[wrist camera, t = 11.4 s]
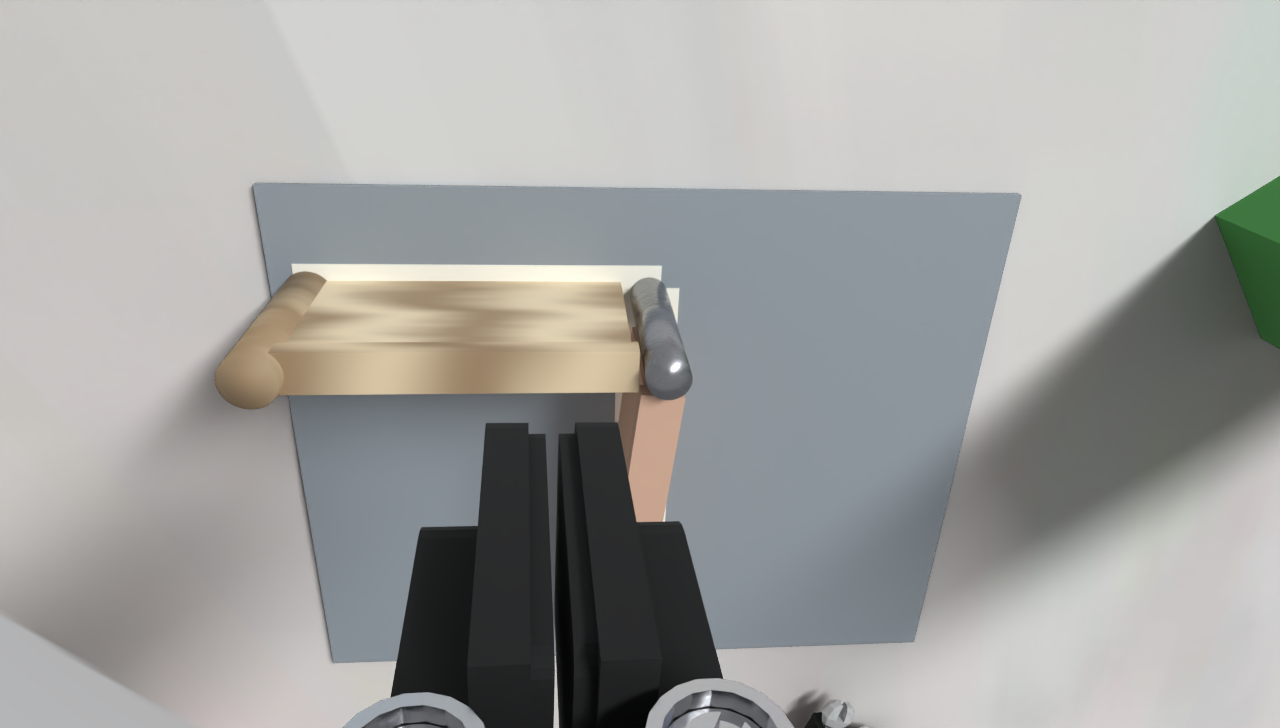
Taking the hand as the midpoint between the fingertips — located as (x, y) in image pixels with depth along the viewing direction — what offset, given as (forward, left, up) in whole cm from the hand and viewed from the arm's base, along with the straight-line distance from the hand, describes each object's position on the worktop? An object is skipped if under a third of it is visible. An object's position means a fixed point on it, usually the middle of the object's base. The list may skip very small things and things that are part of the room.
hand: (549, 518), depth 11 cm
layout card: (+4, -15, -25) cm, 29 cm away
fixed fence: (-3, -7, -25) cm, 26 cm away
